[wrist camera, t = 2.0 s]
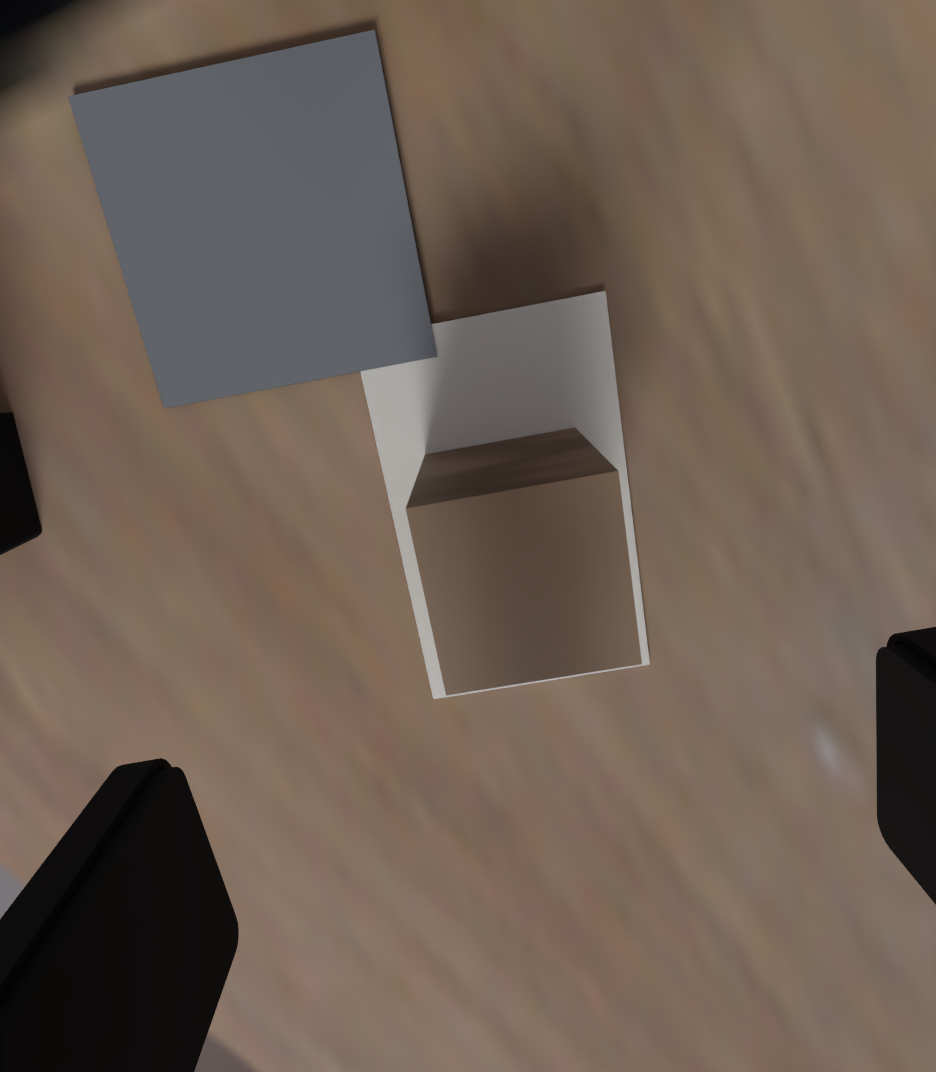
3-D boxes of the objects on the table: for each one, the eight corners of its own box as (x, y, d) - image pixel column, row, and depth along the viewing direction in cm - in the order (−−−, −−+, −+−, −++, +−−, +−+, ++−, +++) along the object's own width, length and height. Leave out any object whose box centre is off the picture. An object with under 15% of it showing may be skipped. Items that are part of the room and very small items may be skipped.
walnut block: (575, 427, 23) (618, 470, 16) (594, 569, 24) (642, 664, 17) (424, 454, 23) (405, 508, 16) (453, 593, 24) (446, 695, 18)
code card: (604, 291, 22) (605, 290, 21) (648, 661, 25) (650, 665, 25) (354, 338, 22) (353, 339, 22) (433, 696, 26) (433, 699, 26)
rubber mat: (375, 33, 20) (374, 29, 19) (437, 356, 22) (437, 356, 22) (73, 99, 20) (68, 96, 20) (168, 407, 23) (163, 408, 22)
